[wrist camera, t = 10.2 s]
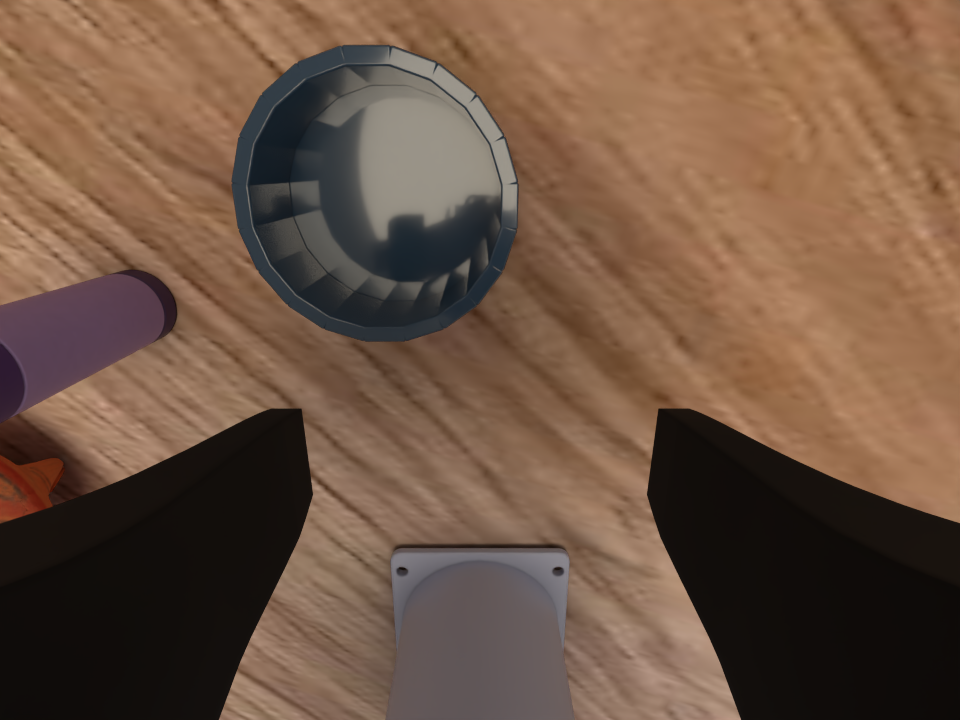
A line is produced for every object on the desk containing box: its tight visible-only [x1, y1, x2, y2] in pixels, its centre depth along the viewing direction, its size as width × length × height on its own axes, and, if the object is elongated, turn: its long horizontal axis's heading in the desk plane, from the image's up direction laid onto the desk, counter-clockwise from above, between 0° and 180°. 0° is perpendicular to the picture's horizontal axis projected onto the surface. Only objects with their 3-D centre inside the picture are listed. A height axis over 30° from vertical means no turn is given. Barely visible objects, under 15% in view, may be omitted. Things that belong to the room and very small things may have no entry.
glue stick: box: [0, 270, 176, 423], centre depth 16 cm, size 3×3×8 cm
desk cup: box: [232, 45, 519, 342], centre depth 17 cm, size 8×8×4 cm
